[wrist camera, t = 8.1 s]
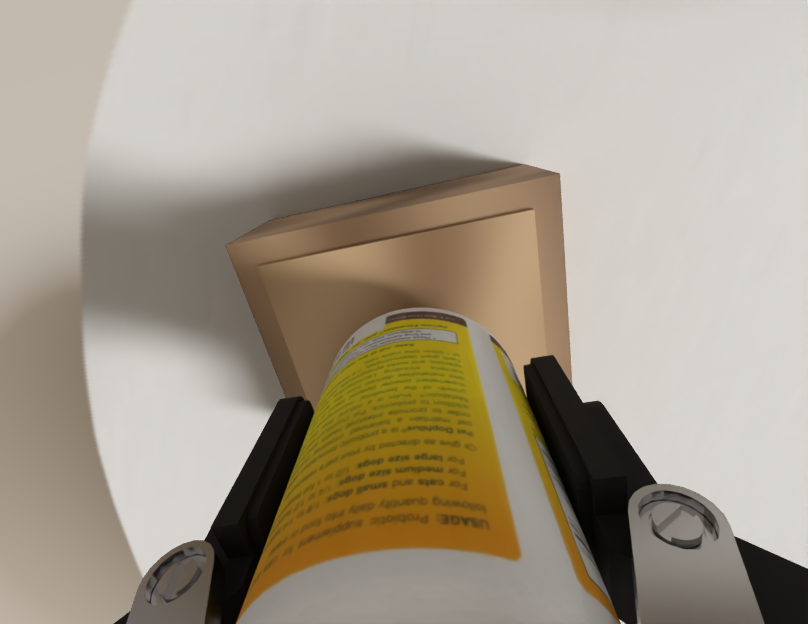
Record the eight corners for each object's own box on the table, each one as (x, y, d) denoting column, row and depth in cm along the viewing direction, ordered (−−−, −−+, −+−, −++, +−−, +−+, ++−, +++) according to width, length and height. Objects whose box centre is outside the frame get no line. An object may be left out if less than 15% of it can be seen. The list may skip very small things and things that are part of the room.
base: (524, 164, 15) (561, 174, 11) (545, 388, 19) (577, 452, 15) (269, 220, 16) (223, 246, 12) (338, 419, 20) (319, 487, 16)
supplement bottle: (299, 394, 13) (-30, 1098, 3) (405, 260, 11) (316, 1010, 2) (435, 477, 14) (468, 1168, 5) (551, 370, 12) (1003, 1169, 3)
